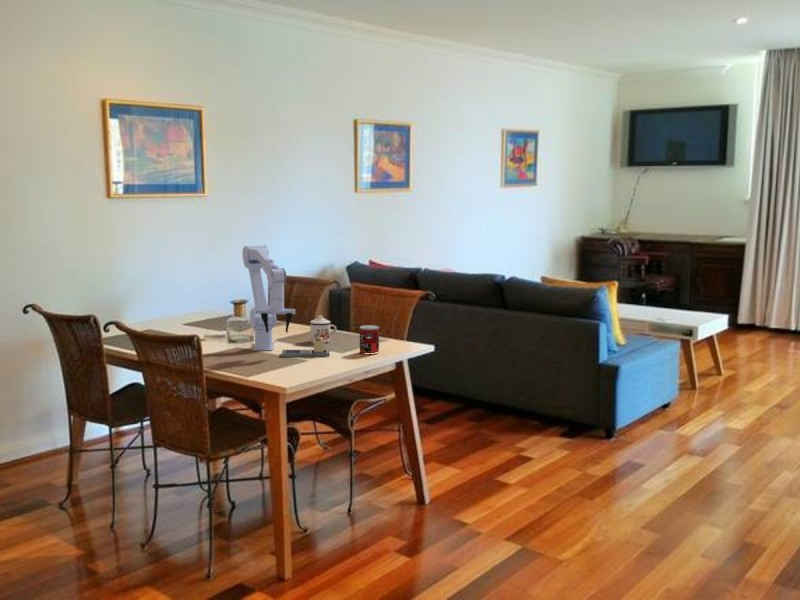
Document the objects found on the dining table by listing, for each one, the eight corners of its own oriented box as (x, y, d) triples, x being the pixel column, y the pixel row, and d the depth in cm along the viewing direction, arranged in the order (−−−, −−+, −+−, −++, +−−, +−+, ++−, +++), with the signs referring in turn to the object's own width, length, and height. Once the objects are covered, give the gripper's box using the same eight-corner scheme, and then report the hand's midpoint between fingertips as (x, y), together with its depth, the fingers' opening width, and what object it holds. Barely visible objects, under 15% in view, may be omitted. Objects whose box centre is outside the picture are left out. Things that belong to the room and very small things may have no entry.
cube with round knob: (314, 353, 322) (313, 337, 321) (323, 353, 322) (323, 337, 321) (313, 355, 318) (313, 339, 317) (323, 355, 318) (323, 339, 317)
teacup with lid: (314, 344, 341) (314, 318, 339) (307, 340, 349) (306, 314, 347) (339, 342, 346) (339, 316, 345) (332, 338, 354) (332, 313, 353)
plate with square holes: (282, 353, 322) (282, 349, 322) (329, 353, 324) (329, 349, 324) (281, 357, 315) (281, 353, 315) (329, 356, 317) (329, 352, 317)
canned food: (356, 352, 325) (356, 326, 324) (371, 350, 330) (371, 324, 329) (367, 355, 319) (367, 329, 318) (382, 353, 324) (382, 327, 323)
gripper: (257, 300, 309) (258, 334, 311) (294, 300, 310) (295, 333, 312) (258, 297, 316) (259, 330, 318) (295, 297, 317) (295, 330, 319)
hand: (277, 332), depth 316 cm, fingers open, 7 cm apart
